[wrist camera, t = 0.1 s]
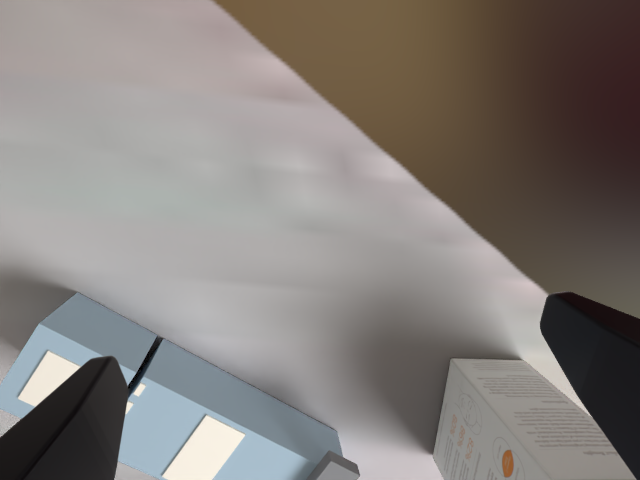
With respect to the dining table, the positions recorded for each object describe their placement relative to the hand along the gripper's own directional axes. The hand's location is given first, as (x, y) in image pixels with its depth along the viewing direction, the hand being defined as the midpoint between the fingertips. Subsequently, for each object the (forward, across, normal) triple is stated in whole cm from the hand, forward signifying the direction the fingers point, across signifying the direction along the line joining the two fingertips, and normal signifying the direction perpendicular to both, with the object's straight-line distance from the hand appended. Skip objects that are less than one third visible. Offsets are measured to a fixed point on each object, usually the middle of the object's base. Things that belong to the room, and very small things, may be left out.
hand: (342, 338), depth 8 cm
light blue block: (+13, +12, +10) cm, 21 cm away
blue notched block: (+12, +5, +16) cm, 21 cm away
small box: (+12, -11, +19) cm, 25 cm away
